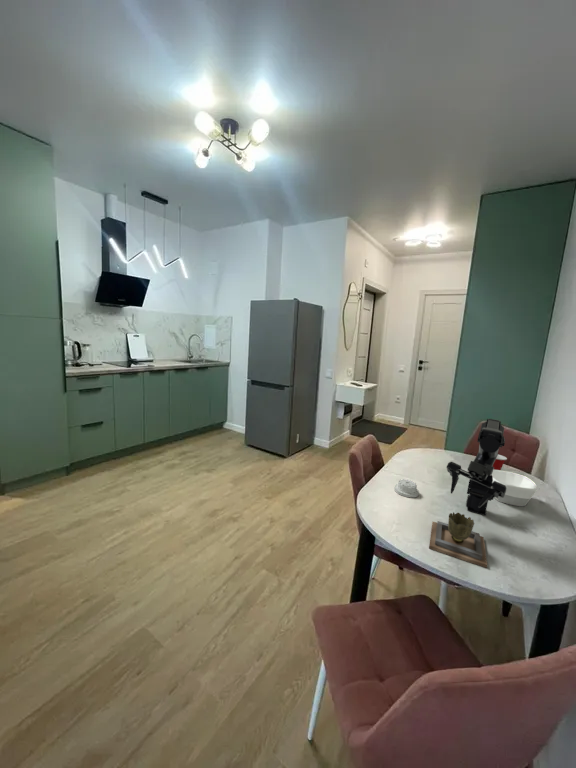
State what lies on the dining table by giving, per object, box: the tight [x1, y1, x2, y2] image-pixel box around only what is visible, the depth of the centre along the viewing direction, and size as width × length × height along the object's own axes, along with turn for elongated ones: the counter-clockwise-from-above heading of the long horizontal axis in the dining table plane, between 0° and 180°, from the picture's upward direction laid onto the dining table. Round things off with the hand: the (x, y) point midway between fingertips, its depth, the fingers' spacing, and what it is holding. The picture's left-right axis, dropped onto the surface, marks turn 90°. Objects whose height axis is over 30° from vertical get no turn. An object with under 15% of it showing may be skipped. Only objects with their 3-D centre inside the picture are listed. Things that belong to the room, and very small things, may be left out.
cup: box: [447, 511, 475, 543], centre depth 109 cm, size 8×7×8 cm
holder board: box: [428, 520, 488, 569], centre depth 110 cm, size 16×16×2 cm
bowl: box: [492, 469, 538, 507], centre depth 145 cm, size 18×18×9 cm
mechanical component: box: [393, 478, 420, 498], centre depth 143 cm, size 10×4×10 cm
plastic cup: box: [492, 454, 508, 470], centre depth 166 cm, size 11×11×12 cm
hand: (464, 500), depth 116 cm, fingers open, 9 cm apart
